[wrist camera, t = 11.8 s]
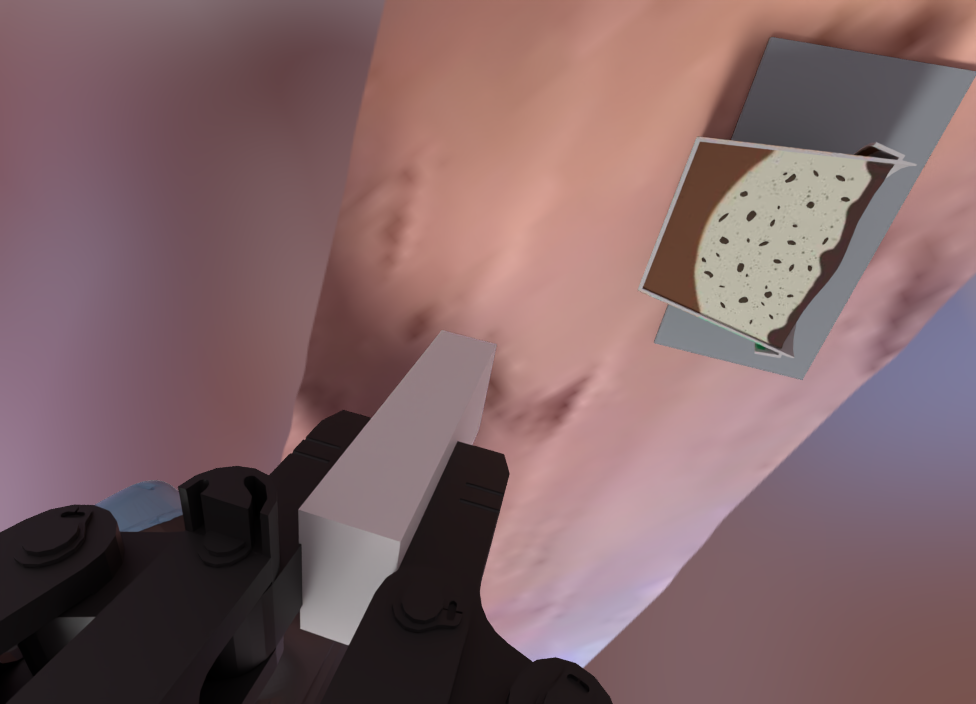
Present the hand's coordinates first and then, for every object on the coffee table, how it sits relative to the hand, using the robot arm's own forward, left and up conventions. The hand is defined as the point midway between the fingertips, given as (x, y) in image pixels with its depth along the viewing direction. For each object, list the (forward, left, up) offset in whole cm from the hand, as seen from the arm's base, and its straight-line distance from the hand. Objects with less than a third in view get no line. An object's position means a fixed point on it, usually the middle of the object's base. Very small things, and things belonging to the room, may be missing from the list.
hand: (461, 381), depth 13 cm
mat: (+15, +3, -24) cm, 29 cm away
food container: (+7, +3, -23) cm, 24 cm away
